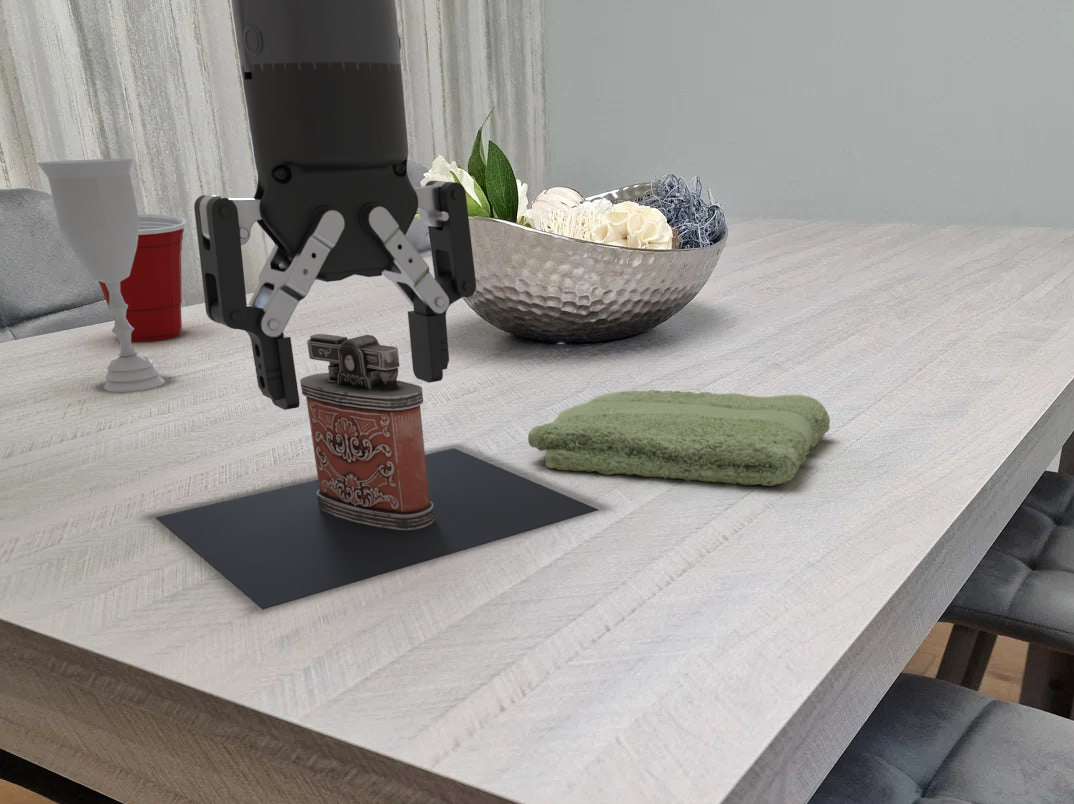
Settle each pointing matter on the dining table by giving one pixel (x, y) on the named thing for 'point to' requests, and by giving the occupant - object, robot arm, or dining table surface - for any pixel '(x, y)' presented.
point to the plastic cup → (154, 280)
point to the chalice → (104, 246)
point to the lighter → (367, 435)
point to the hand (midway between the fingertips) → (359, 392)
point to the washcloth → (686, 436)
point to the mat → (361, 529)
